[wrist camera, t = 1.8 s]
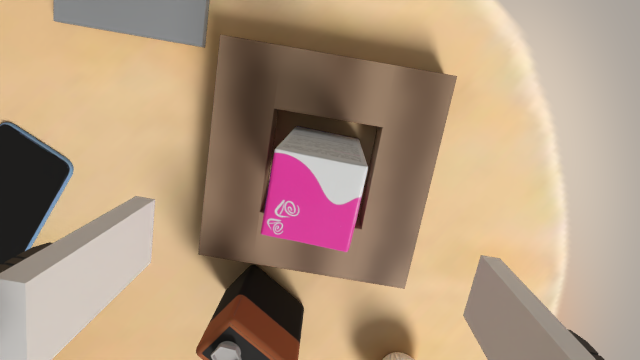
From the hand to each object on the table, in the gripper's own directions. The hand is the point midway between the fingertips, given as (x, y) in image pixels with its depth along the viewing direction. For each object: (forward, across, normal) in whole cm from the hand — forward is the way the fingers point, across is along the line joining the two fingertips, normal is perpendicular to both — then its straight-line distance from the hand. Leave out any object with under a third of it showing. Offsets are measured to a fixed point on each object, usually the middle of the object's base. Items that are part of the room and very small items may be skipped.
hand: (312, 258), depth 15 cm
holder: (+19, 0, 0) cm, 19 cm away
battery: (+19, -3, -14) cm, 24 cm away
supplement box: (+19, 0, 0) cm, 19 cm away
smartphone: (+20, -28, -9) cm, 36 cm away
